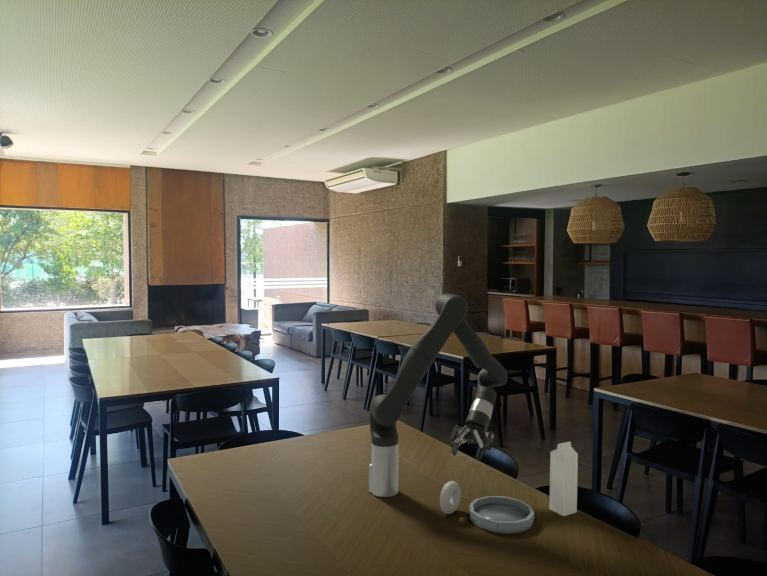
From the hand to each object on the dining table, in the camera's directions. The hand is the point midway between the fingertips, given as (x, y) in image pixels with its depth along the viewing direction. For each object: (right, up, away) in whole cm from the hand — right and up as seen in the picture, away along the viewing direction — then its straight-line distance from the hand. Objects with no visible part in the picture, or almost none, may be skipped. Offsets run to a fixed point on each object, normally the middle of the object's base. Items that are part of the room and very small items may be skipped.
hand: (465, 457), depth 185 cm
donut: (-6, -15, -9) cm, 18 cm away
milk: (+30, -15, -7) cm, 34 cm away
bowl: (+9, -15, -13) cm, 22 cm away
